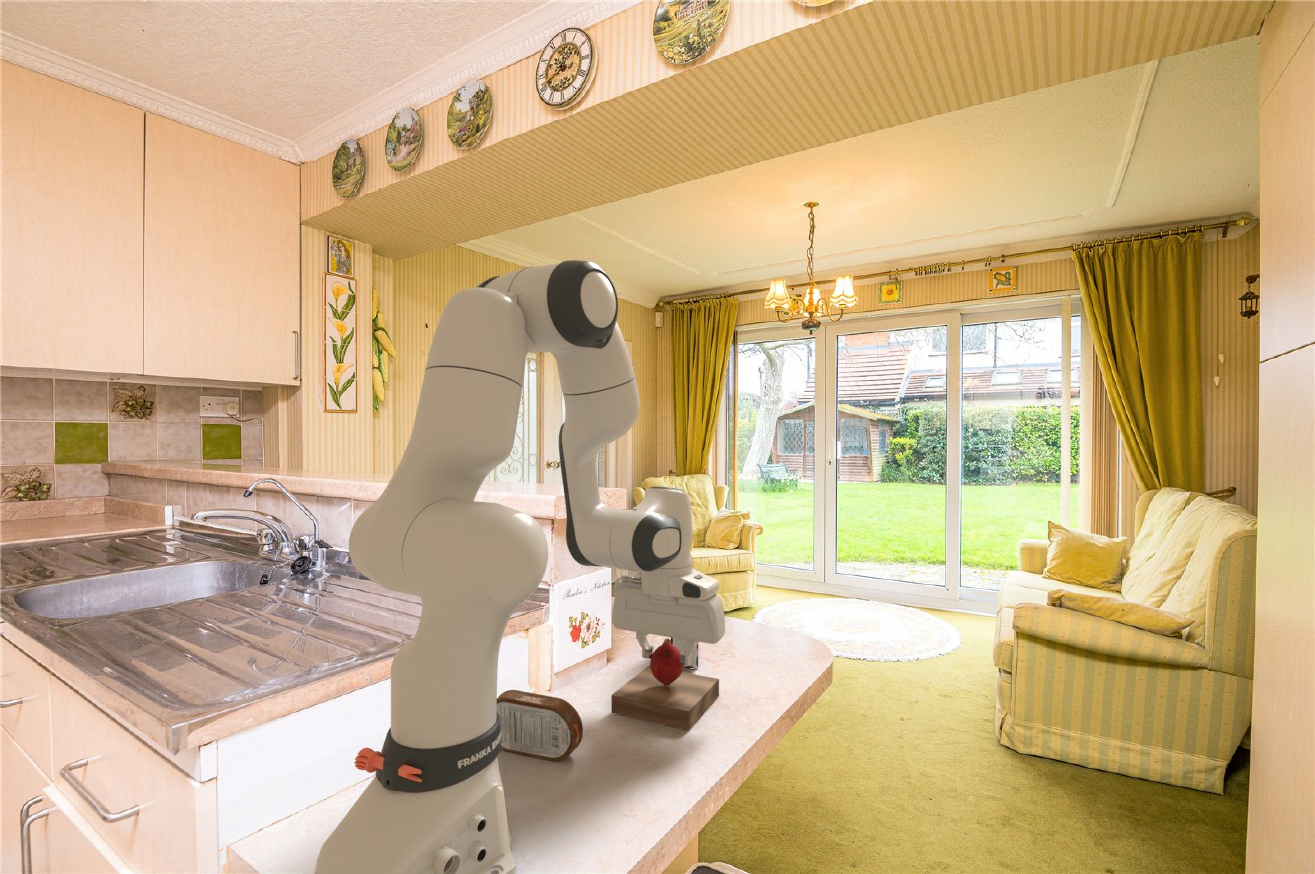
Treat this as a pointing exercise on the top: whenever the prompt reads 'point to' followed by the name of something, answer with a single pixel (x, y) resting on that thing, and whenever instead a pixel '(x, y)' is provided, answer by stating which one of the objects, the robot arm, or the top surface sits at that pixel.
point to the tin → (538, 725)
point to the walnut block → (666, 699)
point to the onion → (666, 663)
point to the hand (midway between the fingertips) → (666, 660)
